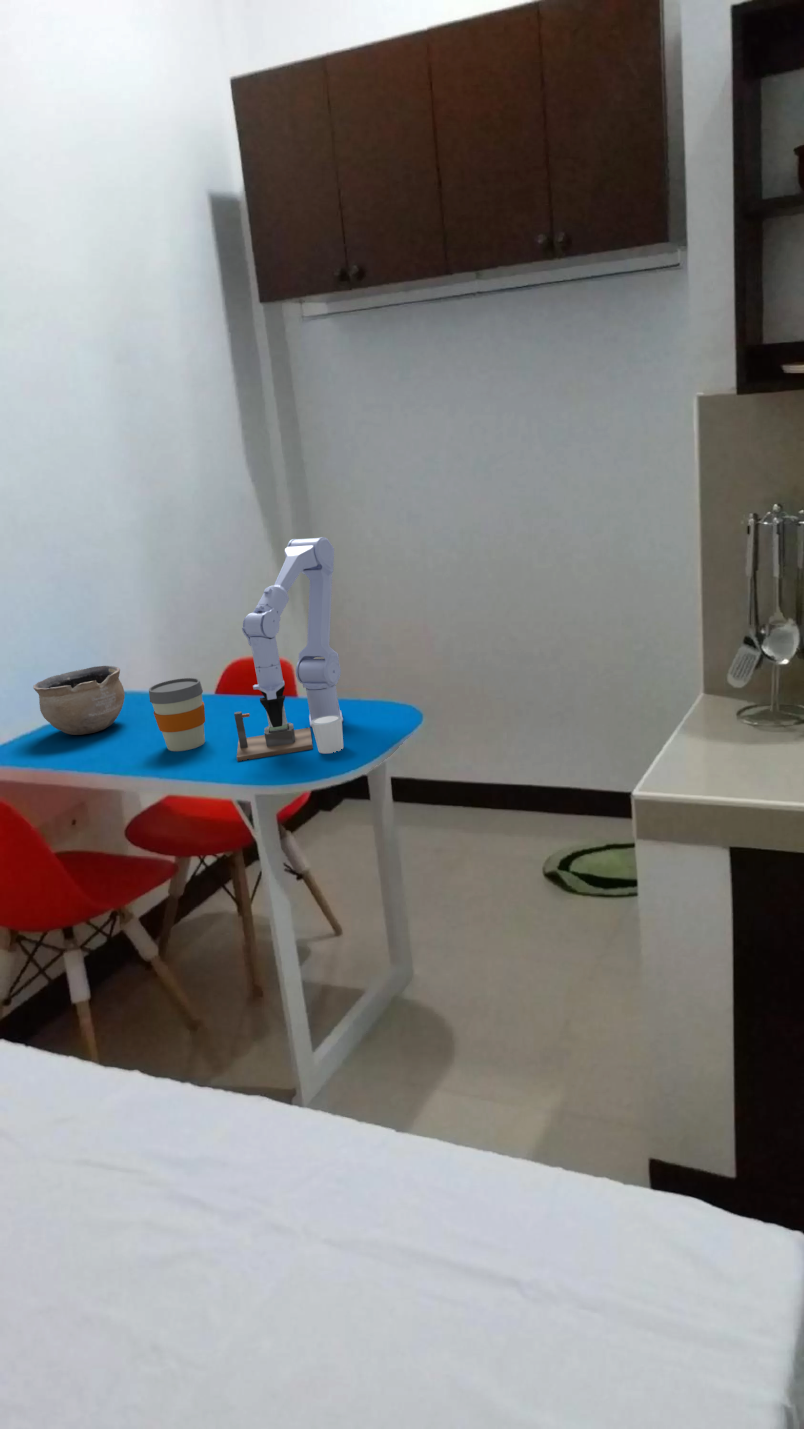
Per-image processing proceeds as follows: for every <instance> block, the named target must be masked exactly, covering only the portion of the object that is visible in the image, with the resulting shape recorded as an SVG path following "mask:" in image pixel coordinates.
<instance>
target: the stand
mask: <svg viewBox="0 0 804 1429" xmlns="http://www.w3.org/2000/svg"><path fill="white" fill-rule="evenodd" d="M250 715H251V714H250V713H242V711H236V712H235V711H234V720H235V726H236V731H237V737H238V742H237V749H236V750H237V751H236V752H237V753H236V761H237V762H243V761H248V760H247V759H249V760H254V759H260V758H265V757H266V758H267V757H271V756H272V757H273V756H278V755H285V754H290V753H296V752H302V751H309V750H313V748H314V746H313V737H312V729H311V727H306V728H300V729H298V728H297V729H294V728H295V727H294V723H291V722H287V725H288V730H284V731H278V732H272V733H270V731H269V725H268V726H266V727H264V732H263V733H264V734H263V735H256V736H250V737H249V736H248V737H247V734H246V729H245V724H244V718H249V717H250ZM242 760H243V761H242Z"/></svg>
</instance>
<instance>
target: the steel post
mask: <svg viewBox="0 0 804 1429" xmlns="http://www.w3.org/2000/svg"><path fill="white" fill-rule="evenodd" d="M285 709H286V708H285V702H284V703H283V709H282V718H283V722H282V726H280V727H273V726H272V724H271V722H270V719H269V716H268V714H267V711H266V710H265V712H266V716H267V723H268V726H269V731H270V733H272V732H278V731H284V730H288V725H287V723H288V719H287V716H286V710H285Z"/></svg>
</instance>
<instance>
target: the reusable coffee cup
mask: <svg viewBox="0 0 804 1429" xmlns="http://www.w3.org/2000/svg"><path fill="white" fill-rule="evenodd" d="M203 693H204V690H203V687H202V684H201V680H200V679H199V678H196V677H183V678H176V679H175V678H174V679H171V680H166V681H161V682H159V683H157V684H154V685H152V686H150V687H149V688H148V694H149V695H148V697H149V702H150V703H151V704H152V707H153V710H154V711H153V716H154V719H155V720H156V724H157V727H158V730H159V731H160V732H161V733H162V736H163V739H164V742H165V745H166V747H167V750H168V751H171V752H184V751H188V750H192V749H196V748H198V747H201V746H202V745H204V744H205V742H206V737H205V725H204V724H205V722H206V714H205V713H206V711H205V702H204V701H203Z"/></svg>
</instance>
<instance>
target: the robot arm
mask: <svg viewBox="0 0 804 1429" xmlns="http://www.w3.org/2000/svg"><path fill="white" fill-rule="evenodd" d="M284 558H285V560H284V562H283V564H282V567H281V569H280V571H279V572H278V573H279V574H278V575H277V578H276V580H275V582H274V584H273V585H270V586H267V587H265V588H264V590H263V593H262V596H261V597H260V599H259V600H258V602H257V605H256V606H255V608H254V609H253V612H250V613H248V614H247V615H246V616H245V617H244V619H243V622H242V627H241V630H242V633H243V635H244V637H246V639H247V643H248V645H249V646H250V648H251V651H252V658H253V663H254V669H255V674H256V681H257V684H254V685H252V688H253V690H259V691H260V693H261V695H262V696H263V697H260V698H259V702H260V704H261V705H262V707H263V708H264V710H265V712H266V711H267V712H266V715H267V714H268V716H269V719H270V722H271V724H272V726H273V727H280V726H282V722H283V718H282V709H283V703H284V704H285V699H286V695H284V692H285V686H286V685H285V680H284V678H283V672H282V667H281V666H282V665H281V660H280V656H279V655H280V654H279V649H278V643H277V638H276V636H277V634H278V633H279V631H280V622H281V618H282V617H281V615H282V614H283V612H284V610H285V608H286V606H287V604H288V603H289V600H290V597H289V594H288V592H289V591H290V589H291V588H292V586H293V584H294V583H295V582H296V580H297V578H298V577H299V576H300V574H302V575H305V576H306V577H307V578H308V580H309V590H308V591H309V592H308V593H309V594H308V615H307V616H308V617H307V620H308V621H307V641H306V642H307V644H306V646H304V647H303V649H301V651H300V652H299V653H298V659H297V663H296V665H295V676H296V679H297V681H298V682H299V683H300V684H302V687H303V689H304V688H305V691H306V700H307V703H308V710H309V715H308V718H309V725H310V726H309V728H312V724H311V721H312V720H314V719H316V718H319V717H322V716H328V715H338V716H341V718H342V723H343V722H344V718H343V714H342V710H340V705H339V697H338V691H337V684H338V683H339V680H340V677H341V674H342V670H341V665H340V657H339V656H340V655H339V653H338V652H337V651H336V650H334V649H333V648H332V647H331V646H330V641H331V639H330V637H331V618H332V617H331V615H332V595H333V594H332V593H333V591H332V589H333V573H334V562H335V548H334V546H333V544H332V543H331V542H330V540H329V538H327V537H325V536H320V537H314V538H313V537H311V538H292V539H290V540H289V541H288V543H287V545H286V548H284Z"/></svg>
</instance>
